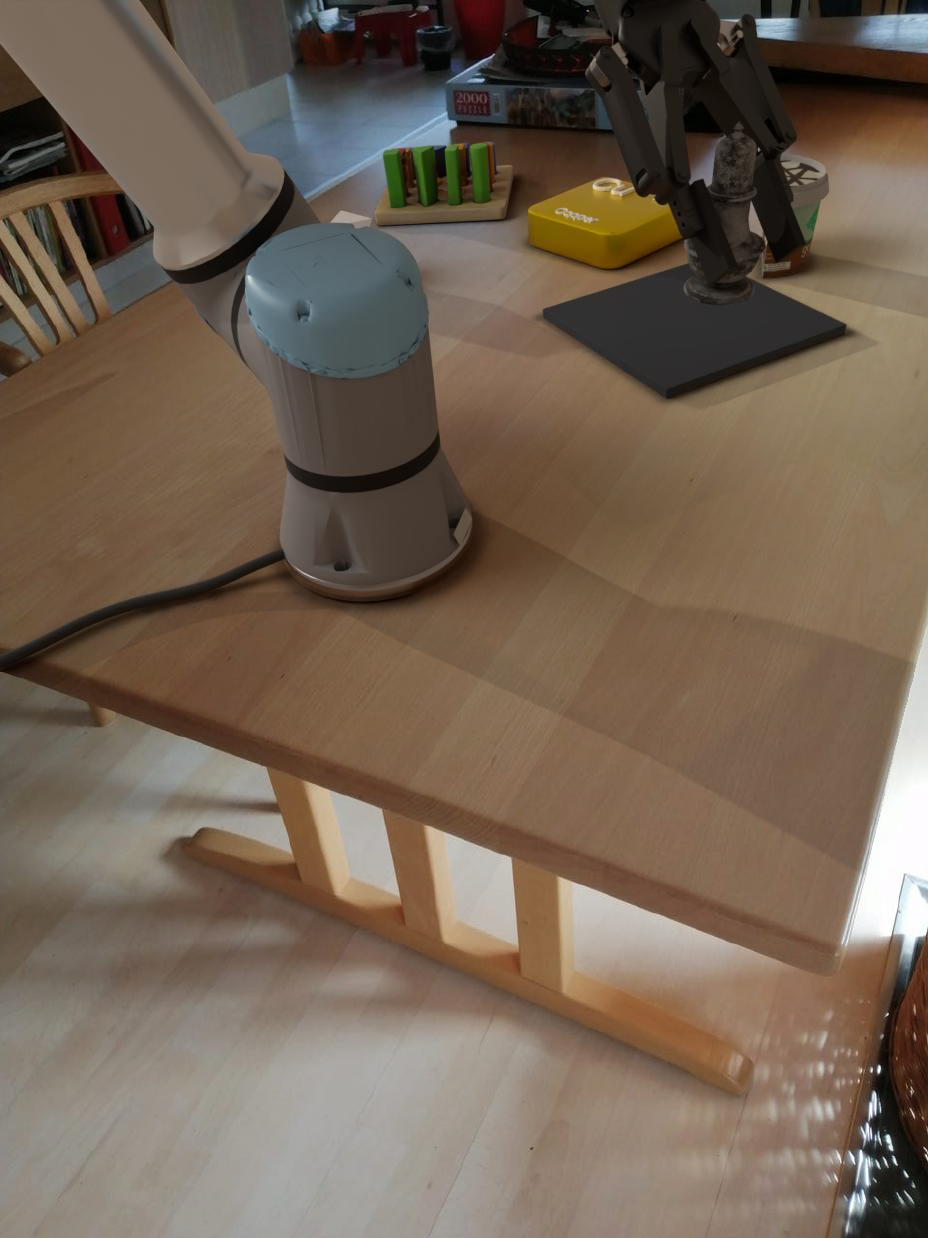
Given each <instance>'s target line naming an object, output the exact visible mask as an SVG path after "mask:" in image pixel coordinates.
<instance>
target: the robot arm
mask: <svg viewBox="0 0 928 1238" xmlns="http://www.w3.org/2000/svg"><path fill="white" fill-rule="evenodd" d="M592 2H593V5H594V8H595V10H596V13H597V15H598V18H599V20H600V23H601V25H602V28H603V31H604V33H605V34H606V36H607V37H608V38H609V39H611V40H612V41H611V46H610V45H606V44H605V45H603V46H601V47H600V49H599V50H598V52H597V53H596V54H595V56H594V57H593V59H592V61H591V62H590V63H589V65H588V67H587V68H586V70H585V73H584V75H585V78H586V80H587V81H588V83H589V84H590V85H591V87H592V88H593V90H595V92H596V94H597V95H598V96H599V98H600V99H601V101H602V104H603V106H604V109H605V113H606V114H607V117H608V120H609V124H610V126H611V128H612V132H613V134H614V137H615V139H616V142H617V145H618V148H619V150H620V153H621V156H622V159H623V161H624V164H625V167H626V170H627V172H628V175H629V178H630V181H631V183H632V184H633V186H634V189H635V192H636V193H637V195H639V196H640V197H647V196H648V195H649V194H651V195H656V196H655V197H654V199H655V201H656V202H657V203H658V204H659V205H666V204H667V203H668V204H669V207H670V209H671V212H672V214H673V217H674V220H675V221H676V225H677V226H678V230H679V232H680V234H681V236H682V237H683V238H682V239H684V240H687V239H691V241H692V244H693V246H694V249H695V251H696V254H697V256H698V259H699V261H700V264H701V266H702V269H703V272H704V274H705V277H706V279H707V282H708V284H709V285H711V284H714V283H717V282H718V281H720V280H721V279H722V278H723V277H725V276H726V275H727V274H729V273H730V272H731V271H732V270H734V269H735V268H736V267H738V265H737V262H736V260H735V257H734V255H733V252H732V250H731V247H730V245H729V242H728V240H727V237H726V235H725V232H724V229H723V227H722V224H721V222H720V219H719V217H718V214H717V212H716V209H715V207H714V204H713V202H712V199H711V197H710V194H709V192H708V189H707V187H708V186H707V184H706V182H705V180H704V178H700V179H697V180H693V182H692V183H690V181H691V179H692V172H691V165H690V159H689V151H688V145H687V138H686V130H685V124H684V117H683V116H684V115H683V110H682V103H681V95H680V88H682V89H687V90H688V92H689V94H690V95H691V97H692V98H693V99H694V100H695V101H701V102H702V103H703V105H704V107H705V108H706V109H707V111H708V113H709V114H710V115H711V117H712V118H713V119H714V121H715V122H716V124H717V126H718V127H719V128H720V130H721V131H722V133H723V134H724V136H725V137H727V136H729V135H731V134H732V133H735V129H734V127H735V126H736V124H737V123H738V122H739V121H740V122H741V124H742V127H744V129H742V133H743V134H745V135H746V136H748V137H750V138H751V139H753V140H754V142H755V144H756V148H757V152H756V160H755V167H754V174H753V182H752V185H753V186H754V187H755V188H756V189H757V193H756V195H755V196H754V197H752V198H751V204H752V206H753V209H754V212H755V215H756V217H757V219H758V221H759V224H760V227H761V229H762V233H763V232H764V234H765V237H766V239H767V242H768V245H769V247H770V250H771V252H772V255H773V257H774V260H775V262H776V263H778V262H781V261H784V260H785V259H787V258H788V257H789V256H791V255H792V254H793V253H795V252H796V251H798V250H799V249H800V248H802V247H803V246H804V245H806V242H805V239H804V236H803V234H802V231H801V229H800V226H799V224H798V221H797V219H796V216H795V214H794V211H793V209H792V206H791V203H792V202H793V201H794V198H793V192H792V190H791V187H790V185H789V182H788V179H787V177H786V174H785V172H784V169H783V167H782V164H781V160H780V158H781V155H782V154H784V153H785V152H786V151H788V149H789V148H790V147H791V146H793V144H795V143H796V142H797V140H798V134H797V131H796V128H795V127H794V124H793V122H792V120H791V118H790V115H789V112H788V110H787V108H786V105H785V104H784V101H783V99H782V96H781V94H780V92H779V90H778V87H777V85H776V83H775V80H774V77H773V75H772V73H771V70H770V68H769V66H768V64H767V62H766V59H765V57H764V54H763V52H762V49H761V47H760V44H759V36H758V31H757V30H758V29H757V22H756V19H755V17H754V16H753V15H751V14H750V13H743V15H742V16H741V17H740V18H739V20H738V21H732V20H724V19H721V17H720V15H719V13H718V12H717V10H715V9H714V7H712V6H711V4H710V3H709V1H708V0H592ZM0 46H1V47H2V48H3V49H4V50H5V51H6V53H7V54H8V55H9V56H10V57H11V59H12V60H13V61H14V62H15V63H16V64H17V66H18V67H19V68H20V69H21V70H22V72H23V74H25V75H26V76H27V78H28V79H29V81H31V82H32V84H33V85H34V86H35V87H36V89H37V90H39V92H40V93H41V94H42V95H43V96H44V98H45V99H46V100H47V101H48V102H49V104H50V105H51V106H52V108H54V110H55V111H56V112H57V113H58V115H59V116H60V117H61V118H62V119H63V120H64V121H65V123H66V124H67V125H68V126H69V127H70V128H71V130H72V131H73V132H74V134H75V135H76V136H77V137H78V138H79V140H81V142H82V144H84V146H85V147H86V148H87V149H88V150H89V151H90V152H91V154H92V155H93V156H94V157H95V159H96V160H97V161H98V162H99V163H100V165H101V166H102V167H103V168H104V170H106V172H107V173H108V174H109V175H110V176H111V178H112V179H113V180H114V182H116V184H117V185H118V187H120V188H121V189H122V191H123V192H124V193H125V194H126V196H127V197H128V198H129V199H130V201H132V203H133V204H134V205H135V206H136V207H137V208H138V210H139V211H140V212H141V213H142V215H143V216H144V217H145V218H146V219H147V220H148V221H149V223H150V224H151V225H152V226H153V243H152V254H153V258H154V260H155V261H156V263H157V264H158V265H159V266H160V268H161V269H162V270H163V271H164V272H165V274H166V275H167V276H168V277H169V278H170V279H171V281H173V283H174V284H175V285H176V286H177V288H178V289H179V290H180V291H181V292H182V294H184V296H185V297H186V298H187V299H188V300H189V302H190V303H191V304H192V305H193V306H194V309H195V311H196V313H197V314H198V316H199V317H200V318H201V319H202V321H203V322H204V323H205V324H206V325H207V326H208V327H209V328H210V329H211V330H212V332H214V333H215V334H216V335H217V336H219V337H220V338H221V339H222V340H223V341H224V342H225V343H226V344H227V345H228V346H229V348H230V349H231V350H232V351H233V352H234V353H235V354H236V356H237V357H238V358H239V359H240V360H241V361H242V362H243V363H244V365H245V366H246V367H247V368H248V369H249V371H250V372H251V373H252V374H253V375H254V377H256V379H257V380H258V381H259V382H260V383H261V384H262V386H264V388H265V390H266V392H267V395H268V397H269V400H270V403H271V406H272V411H273V415H274V419H275V424H276V428H277V433H278V437H279V442H280V445H281V449H282V453H283V457H284V462H285V466H286V473H287V474H286V480H285V490H284V495H283V503H282V511H281V518H280V524H279V525H280V526H279V544H280V547H279V548H278V549H275V550H273V551H270V552H268V553H265V554H263V555H260V556H259V557H256V558H254V559H251V560H249V561H247V562H244V563H242V564H240V565H238V566H235V567H234V568H232V569H230V570H227V571H225V572H223V573H221V574H219V575H216V576H213V577H210V578H207V579H204V580H201V581H198V582H194V583H191V584H188V585H184V586H183V585H182V586H179V587H175V588H171V589H166V590H162V591H156V592H152V593H148V594H144V595H140V596H135V597H132V598H128V599H125V600H121V601H118V602H115V603H112V604H109V605H106V606H104V607H101V608H98V609H95V610H93V611H91V612H89V613H86V614H83V615H82V616H80V617H77V618H75V619H73V620H71V621H69V622H67V623H65V624H63V625H61V626H59V627H57V628H55V629H52V630H51V631H49V632H47V633H45V634H43V635H41V636H39V637H36V638H35V639H33V640H31V641H29V642H27V643H25V644H23V645H20V646H19V647H15V648H13V649H11V650H8V651H6V652H3V653H0V669H2V668H4V667H8V666H10V665H12V664H14V663H17V662H19V661H21V660H23V659H26V658H29V657H31V656H32V655H34V654H37V653H39V652H41V651H43V650H45V649H46V648H47V649H48V647H51V646H53V645H54V644H56V643H58V642H61V641H62V640H64V639H66V638H68V637H71V636H72V635H74V634H76V633H78V632H80V631H82V630H84V629H86V628H88V627H90V626H93V625H96V624H97V623H100V622H103V621H105V620H108V619H110V618H113V617H116V616H120V615H122V614H126V613H129V612H133V611H136V610H140V609H144V608H147V607H152V606H156V605H161V604H165V603H171V602H174V601H179V600H183V599H187V598H191V597H195V596H199V595H203V594H204V593H208V592H212V591H215V590H217V589H220V588H222V587H225V586H227V585H229V584H231V583H233V582H235V581H238V580H240V579H242V578H244V577H246V576H249V575H251V574H252V573H255V572H257V571H259V570H262V569H265V568H266V567H269V566H271V565H274V564H276V563H278V562H280V561H281V562H282V561H283V562H284V565H285V567H286V570H287V571H288V573H289V574H290V575H291V576H292V578H293V579H294V580H295V581H296V582H297V583H298V584H300V585H301V586H302V587H304V588H306V589H307V590H309V591H310V592H313V593H315V594H317V595H321V596H323V597H327V598H330V599H335V600H340V601H350V602H375V601H376V602H377V601H385V600H391V599H396V598H400V597H404V596H409V595H411V594H414V593H417V592H419V591H423V590H424V589H427V588H429V587H430V586H433V585H434V584H436V583H438V582H440V581H442V580H443V579H445V578H446V577H448V575H450V574H451V573H453V572H454V570H456V569H457V568H458V567H459V566H460V565H461V564H462V562H463V561H464V560H465V558H466V557H467V555H468V554H469V552H470V550H471V547H472V545H473V540H474V527H473V526H474V525H473V517H472V516H473V514H472V510H471V507H470V505H469V502H468V499H467V496H466V494H465V492H464V490H463V488H462V487H461V485H460V482H459V480H458V479H457V476H456V475H455V472H454V470H453V468H452V467H451V465H450V462H449V460H448V459H447V456H446V454H445V453H444V450H443V449H442V444H441V436H440V427H439V419H438V418H439V417H438V416H439V415H438V407H437V398H436V389H435V387H436V386H435V378H434V377H435V376H434V369H433V359H432V349H431V348H432V347H431V337H430V328H429V322H430V320H429V319H430V317H429V316H430V311H429V303H428V296H427V295H426V292H425V289H424V286H423V282H422V276H421V271H420V267H419V265H418V263H417V260H416V258H415V257H414V255H413V253H412V252H411V251H410V249H409V248H408V247H407V246H406V245H405V244H404V243H403V242H401V241H400V240H399V239H398V238H396V237H395V236H393V235H392V234H390V233H388V232H386V231H384V230H381V229H380V230H378V229H375V228H372V227H369V226H364V227H362V228H355V227H354V225H353V224H351V223H330V222H322V221H321V220H320V219H319V217H318V216H317V214H316V212H315V211H314V210H313V208H312V207H311V205H310V204H309V203H308V201H307V199H306V198H305V197H304V196H303V194H302V193H301V191H300V190H299V188H298V186H297V185H296V183H295V182H294V181H293V180H292V178H291V177H290V175H289V174H288V173H287V171H286V170H285V169H284V167H283V165H282V163H281V162H280V161H279V160H278V159H277V158H276V157H274V156H271V155H268V154H262V153H255V152H249V151H247V150H246V149H245V148H244V146H243V144H242V143H241V141H239V139H238V138H237V136H236V135H235V133H234V132H233V131H232V129H231V127H230V126H229V125H228V123H227V121H226V120H225V119H224V118H223V117H222V115H221V114H220V112H219V111H218V109H217V108H216V106H215V105H214V104H213V102H212V100H211V99H210V98H209V97H208V95H207V94H206V93H205V90H204V89H203V88H202V87H201V85H200V84H199V82H198V81H197V79H196V78H195V76H194V75H193V73H192V72H191V71H190V70H189V68H188V67H187V65H186V64H185V63H184V61H183V60H182V58H181V57H180V56H179V54H178V52H176V51H177V50H175V48H174V47H173V46H172V44H171V43H170V41H169V40H168V39H167V37H166V35H164V33H163V31H162V30H161V28H160V27H159V26H158V25H157V23H156V21H155V20H154V19H153V17H152V16H151V14H150V12H148V10H147V9H146V7H145V6H144V4H143V3H142V2H141V0H0ZM632 75H634V76H635V77H637V78H638V80H639V87H640V94H641V95H639V92H638V89H637V86H636V84H635V81H634V79H633V76H632ZM640 96H641V98H640ZM645 110H646V111H647V114H646V111H645Z"/></svg>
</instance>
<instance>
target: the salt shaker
mask: <svg viewBox="0 0 928 1238" xmlns="http://www.w3.org/2000/svg"><path fill="white" fill-rule="evenodd" d="M734 129H735V133H732V134H731V135H729V136H727V137H726V136H725V137H723V138H722V139H720V141H718V142H717V144H716V146H715V150H714V159H713V169H712V178H711V184H709V185H707V186H706V187H707V189H708V192H709V194H710V197H711V199H712V202H713V204H714V207H715V209H716V212H717V214H718V217H719V219H720V222H721V224H722V227H723V229H724V232H725V235H726V237H727V240H728V242H729V245H730V247H731V250H732V252H733V255H734V257H735V260H736V262H737V265H738V267H736V268H735V269H734V270H732V271H731V272H730V273H729V274H727V275H726V276H725V277H723V278H722V279H721V280H720V281H718V282H717V283H714V284H711V285H709V284H708V282H707V279H706V277H705V274H704V272H703V269H702V266H701V264H700V261H699V259H698V256H697V254H696V251H695V249H694V246H693V244H692V241H691V239H687V240H685V239H684V240H683V241H684V243H683V247H684V249H685V251H686V253H687V254H686V258H687V260H688V263H689V265H690V267H691V269H692V271H693V272H694V273H695V274H696V276H693V277H691V278H690V279H689V280H687V281H686V283H685V284H684V292H685V294H686V295H687V296H688V297H689V298H691V299H693V300H695V301H697V302H701V303H704V304H710V305H733V304H737V303H741V302H744V301H746V300H748V299H749V298H751V297H752V296H753V294H754V292H755V287H754V285H753V284H752V282H751V281H749V280H748V279H747V278H745V276H746V277H748V275H749V274H750V273H752V272H753V270H754V269H755V267H756V265H757V263H758V262H759V260H760V255H762V253H763V251H764V249H765V241H764V240H763V238H762V235H761V236H760V235H759V234H758V233H756V232H754V231H751V229H750V219H749V217H750V212H751V204H752V202H751V198H752V197H754V196H755V195H756V193H757V189H756V188H755V187H754V186H753V185H752V182H753V174H754V167H755V160H756V152H757V148H756V144H755V142H754V140H753V139H751V138H750V137H748V136H746V135H745V134H743V133H742V129H744V127H742V124H741V122H740V121H739V122H738V123H737V124H736V126H735V127H734Z"/></svg>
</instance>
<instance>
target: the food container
mask: <svg viewBox="0 0 928 1238" xmlns="http://www.w3.org/2000/svg"><path fill="white" fill-rule="evenodd" d="M780 160H781V164H782V167H783V169H784V172H785V174H786V177H787V179H788V182H789V185H790V187H791V190H792V192H793V198H794V201H793V202H792V203H791V206H792V209H793V211H794V214H795V216H796V219H797V221H798V224H799V226H800V229H801V231H802V234H803V236H804V239H805V242H806V245H804V246H803V247H802V248H800V249H799V250H798V251H796V252H795V253H793V254H792V255H791V256H789V257H788V258H787V259H785V260H784V261H781V262H778V263H776V262H775V260H774V257H773V255H772V252H771V250H770V247H769V245H768V242H767V239H766V237H765V234H764V232H763V231H762V235H761V237H762V238H763V240H764V241H765V249H764V251H763V253H761V273H762V276H761V277H762V279H770V278H772V279H773V278H780V277H787V276H790V275H793V274H796V273H798V272H800V271H802V270H804V269H805V267H806V266H807V264H808V260H809V256H810V252H811V246H812V242H813V238H814V233H815V228H816V224H817V219H818V215H819V214H818V213H819V210H820V206H821V202H822V200H824V199H825V198H826V197H828V195H829V193H830V181H829V175H828V172H827V168H826V166H825V165H824V164H823V163H821V162H820V161H818V160H815V159H812V158H810V157H806V156H802V155H796V154H786V153H785V154H784V153H782V155H781V158H780Z"/></svg>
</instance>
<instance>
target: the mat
mask: <svg viewBox="0 0 928 1238" xmlns="http://www.w3.org/2000/svg"><path fill="white" fill-rule="evenodd" d="M693 276H696V274H695V273H694V272H693V271H692V269H691V267H690V265H689V262H687V263H684V264H680V265H678V266H674V267H672V268H668V269H665V270H663V271H659V272H656V273H652V274H649V275H646V276H643V277H640V278H637V279H633V280H630V281H627V282H624V283H621V284H618V285H615V286H611V287H608V288H605V289H602V290H598V291H595V292H592V293H588V294H585V295H583V296H579V297H576V298H573V299H570V300H567V301H564V302H561V303H557V304H554V305H551V306H547V307H544V308H542V318H543V319H545V320H546V321H548V322H549V323H551V324H552V325H554V326H556V327H557V328H559V329H560V330H562V331H563V332H564V333H566V334H568V335H569V336H571V337H572V338H574V339H576V340H577V341H578V342H580V343H581V344H582V345H584V346H585V347H587V348H588V349H590V350H592V351H593V352H594V353H597V354H598V355H600V356H601V357H603V358H604V359H606V360H607V361H608V362H610V363H612V364H613V365H614V366H616V367H618V368H619V369H621V370H622V371H624V372H625V373H627V374H628V375H630V376H631V377H633V378H634V379H636V380H637V381H639V382H641V383H642V384H644V385H645V386H646V387H648V388H650V389H651V390H652V391H654V392H656V393H657V394H659V395H660V396H662V397H663V398H665V399H669V398H671V397H674V396H677V395H680V394H683V393H686V392H688V391H691V390H694V389H697V388H699V387H702V386H704V385H707V384H709V383H713V382H716V381H718V380H721V379H724V378H727V377H730V376H732V375H734V374H737V373H740V372H743V371H746V370H749V369H752V368H754V367H757V366H760V365H762V364H765V363H768V362H771V361H773V360H777V359H779V358H782V357H784V356H787V355H790V354H793V353H795V352H799V351H801V350H804V349H806V348H808V347H812V346H814V345H817V344H821V343H823V342H826V341H828V340H831V339H833V338H837V337H840V336H842V335H845V334H846V331H847V323H845V322H842V321H840V320H838V319H836V318H834V317H832V316H830V315H828V314H826V313H824V312H821V311H819V310H817V309H815V308H813V307H811V306H809V305H807V304H805V303H803V302H800V301H798V300H796V299H794V298H792V297H790V296H788V295H786V294H784V293H782V292H780V291H777V290H776V289H773V288H771V287H769V286H767V285H765V284H763V283H760V282H759V281H756V280H754V279H753V278H751V277H748V276H745V278H747V279H748V280H749V281H751V282H752V284H753V285H754V287H755V292H754V294H753V296H752V297H751V298H749V299H748V300H746V301H744V302H741V303H737V304H733V305H710V304H704V303H701V302H697V301H695V300H693V299H691V298H689V297H688V296H687V295H686V294H685V292H684V284H685V283H686V281H687V280H689V279H690V278H691V277H693Z"/></svg>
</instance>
